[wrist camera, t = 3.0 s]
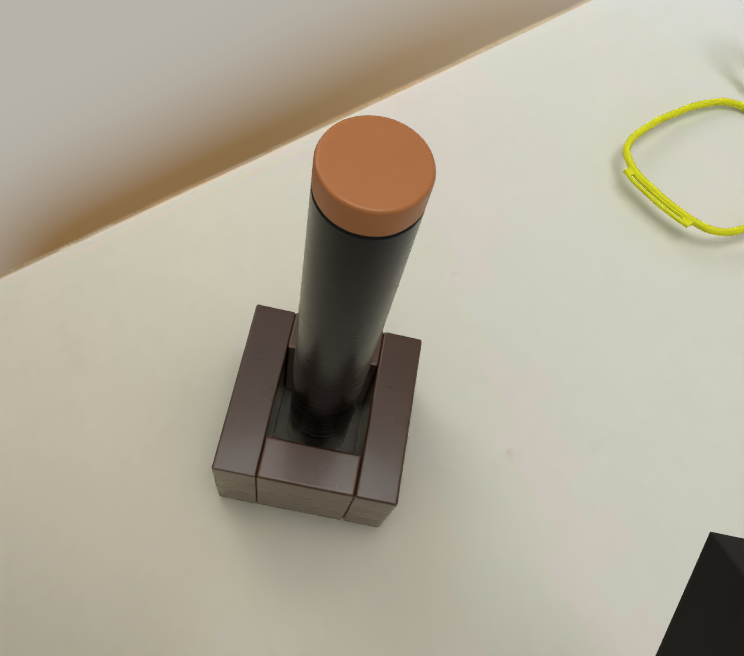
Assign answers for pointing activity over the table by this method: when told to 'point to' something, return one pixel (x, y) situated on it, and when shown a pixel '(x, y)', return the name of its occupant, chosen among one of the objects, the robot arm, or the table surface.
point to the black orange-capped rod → (352, 264)
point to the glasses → (634, 171)
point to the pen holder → (306, 462)
